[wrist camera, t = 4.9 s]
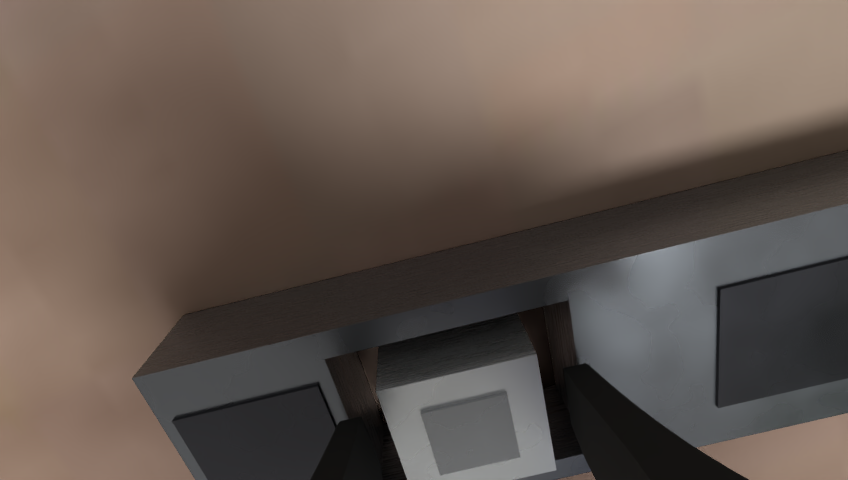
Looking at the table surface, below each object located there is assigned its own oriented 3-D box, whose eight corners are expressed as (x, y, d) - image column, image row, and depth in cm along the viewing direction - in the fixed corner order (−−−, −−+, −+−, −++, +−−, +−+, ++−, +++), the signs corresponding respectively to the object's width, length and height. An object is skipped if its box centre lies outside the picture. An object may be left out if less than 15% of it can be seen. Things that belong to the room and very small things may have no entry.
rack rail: (853, 332, 16) (952, 392, 13) (265, 469, 17) (239, 554, 14) (883, 141, 13) (1017, 164, 10) (183, 315, 14) (129, 380, 11)
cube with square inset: (519, 374, 16) (557, 473, 12) (410, 399, 16) (415, 505, 12) (500, 278, 14) (538, 357, 11) (380, 306, 15) (375, 394, 11)
